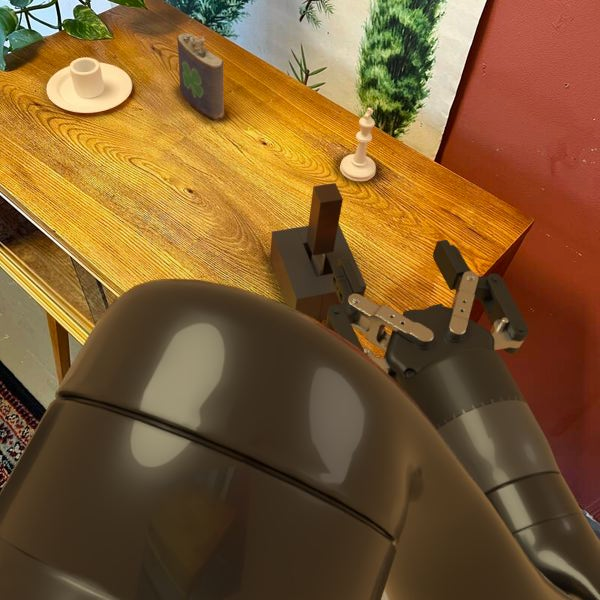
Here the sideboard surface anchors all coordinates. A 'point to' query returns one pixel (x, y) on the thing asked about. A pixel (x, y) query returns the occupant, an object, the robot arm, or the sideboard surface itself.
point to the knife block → (308, 271)
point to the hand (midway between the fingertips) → (390, 255)
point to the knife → (323, 223)
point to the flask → (200, 77)
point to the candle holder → (89, 86)
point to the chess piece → (360, 153)
